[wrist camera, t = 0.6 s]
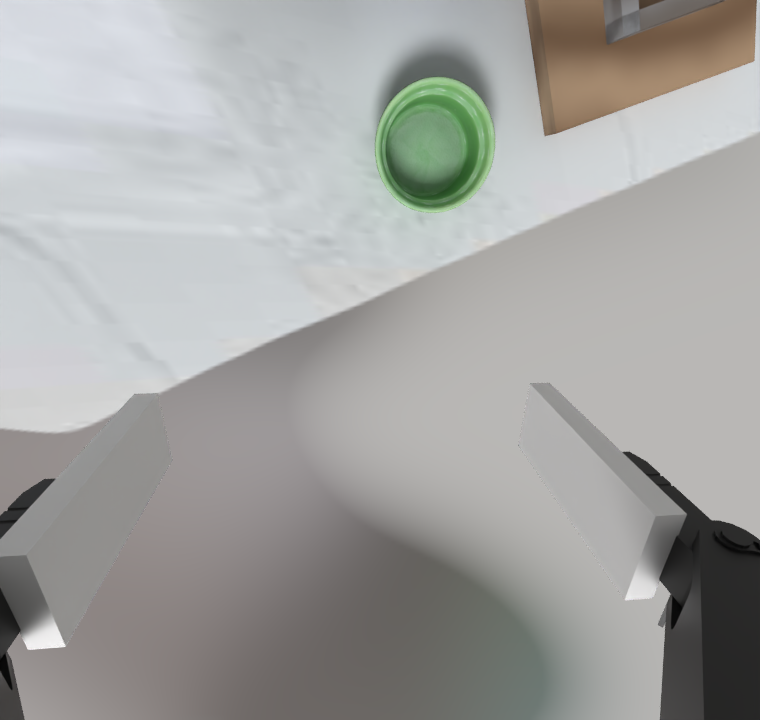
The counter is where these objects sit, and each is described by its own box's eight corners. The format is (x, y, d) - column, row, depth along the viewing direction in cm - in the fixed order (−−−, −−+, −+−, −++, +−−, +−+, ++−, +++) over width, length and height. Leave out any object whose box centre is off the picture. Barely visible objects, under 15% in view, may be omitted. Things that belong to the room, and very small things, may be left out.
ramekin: (498, 151, 35) (520, 147, 31) (422, 232, 37) (433, 238, 33) (426, 60, 32) (439, 43, 28) (347, 153, 34) (349, 149, 30)
